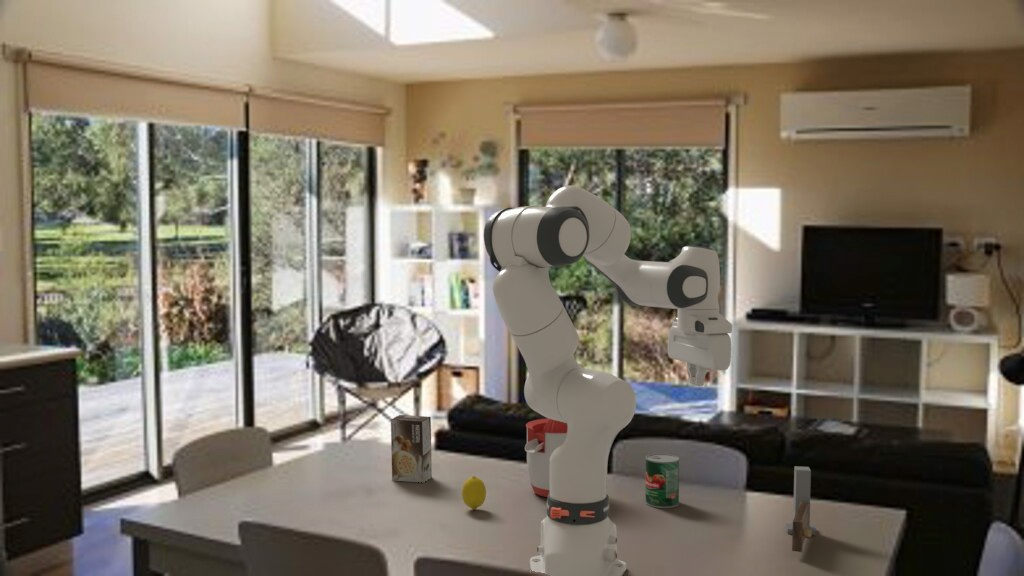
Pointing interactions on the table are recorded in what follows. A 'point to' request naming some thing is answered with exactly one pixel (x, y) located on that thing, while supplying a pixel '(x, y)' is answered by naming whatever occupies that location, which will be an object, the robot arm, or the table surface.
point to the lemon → (473, 492)
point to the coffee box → (411, 448)
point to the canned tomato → (662, 480)
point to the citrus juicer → (542, 451)
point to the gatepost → (801, 495)
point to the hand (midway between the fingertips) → (696, 384)
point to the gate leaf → (800, 527)
